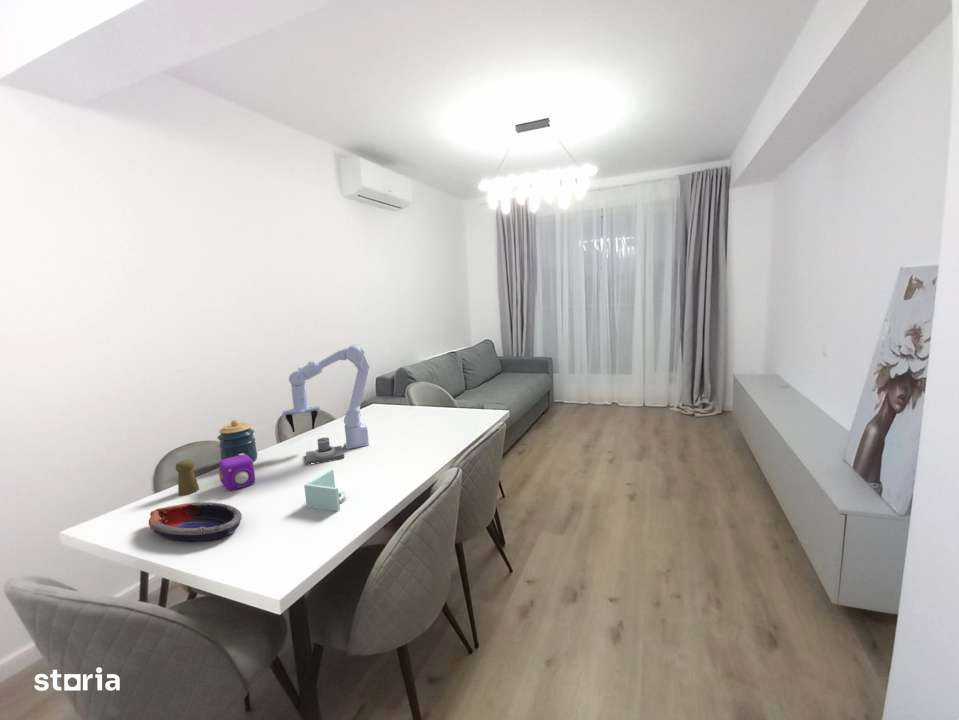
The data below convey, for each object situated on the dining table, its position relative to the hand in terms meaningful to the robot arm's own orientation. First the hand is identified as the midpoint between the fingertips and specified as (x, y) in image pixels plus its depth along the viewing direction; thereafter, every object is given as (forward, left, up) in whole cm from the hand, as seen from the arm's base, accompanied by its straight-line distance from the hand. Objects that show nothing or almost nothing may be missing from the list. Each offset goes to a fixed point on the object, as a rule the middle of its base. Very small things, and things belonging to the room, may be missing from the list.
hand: (303, 429), depth 176 cm
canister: (+25, -1, -10) cm, 27 cm away
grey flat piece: (-7, +12, -9) cm, 17 cm away
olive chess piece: (+38, +22, -10) cm, 45 cm away
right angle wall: (-8, +55, -10) cm, 56 cm away
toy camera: (+22, +26, -10) cm, 35 cm away
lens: (-7, +12, -8) cm, 16 cm away
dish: (+30, +53, -10) cm, 62 cm away
